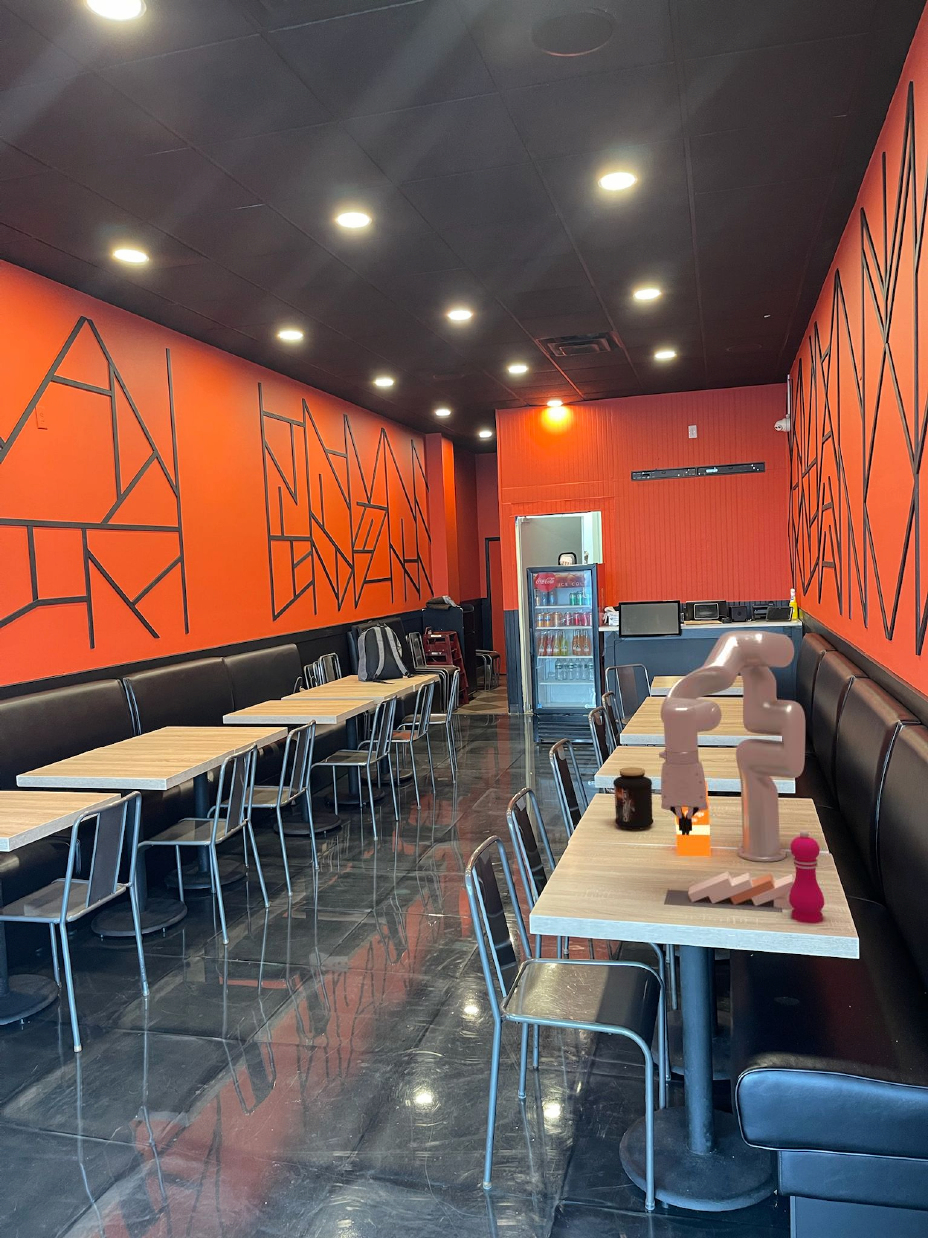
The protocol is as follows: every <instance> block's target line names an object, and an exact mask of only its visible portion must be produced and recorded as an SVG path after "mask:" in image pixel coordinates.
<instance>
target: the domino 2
mask: <svg viewBox="0 0 928 1238" xmlns="http://www.w3.org/2000/svg"><path fill="white" fill-rule="evenodd" d="M753 880H754V879H753V878H752V876H751V875H750V872H746V873H743V874H741V875H739V876H736V877H734V878H732V886H731V887H729V888H726V889H724V890H721V891H719V892H716V893H714V894H712V895H709V898H710V900H711V902H712V904H713V903H715V902H718V901H720V900H723V899H725V898H728V897H731V896H733V895H736V894H738V893H741V892H743V891H746V890H748V889H751V888H753Z"/></svg>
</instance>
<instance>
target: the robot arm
mask: <svg viewBox="0 0 928 1238" xmlns="http://www.w3.org/2000/svg"><path fill="white" fill-rule="evenodd" d="M794 655H795V646H794V643H793V640H792V639H791V638H790V637H788V636H787V635H785V634H781V633H775V632H770V631H764V630H731V631H727V632H723V634H721V635H720V637H719V638H718V639H717V642H716V643H715V645H714V646H713V648H712V649H711V651H710V653H709V655H708V657H707V658H706V659H705V662H704V664H703V665H702V666H701V667H699V668H697V669H695V670H693V671H692V672H690V673H688V674H686V675H685V676H682V678H680V679H679V680H677V681H676V682H675V683H674V684H673V685H672V686H671V688H670V689H669V691H668V693H667V694H666V696H665V698H664V700H663V702H662V704H661V708H660V719H661V721H662V723H663V732H664V733H663V734H664V751H659V752H658V755H659V756H658V757H659V758H660V759H661V758H662V759H664V760H665V761H663V762H662V765H661V771H660V772H661V777H660V798H661V805H660V807H661V809H663V810H666V811H671V813H673V814H674V816H675V817H676V816H677V818H678V821H679V831H682V835H685V833H686V835H687V836H689V833H690V831H692V817H693V816H694V815H695V814H696V813H697V812H698V811H703V810H707V809H708V804H707V801H706V784H705V781H706V777H705V772H704V767H703V764H702V761H701V760H700V759H699V743H698V741H699V740H698V733H700V732H702V733H703V732H710V731H712V730H714V729H716V728H717V727H718V726H719V724H720V723H721V721H722V710H721V707H720V706H719V704H718V703H716V702H715V701H712V700H709V699H700V698H702V697H706V696H709V695H712V694H717V693H721V692H722V691H726V690H727V689H730V688H731V687H732V686H733V685H734V683H735V681H736V679H737V677H738V675H739V673H740V677H741V679H742V685H743V687H742V688H743V693H742V694H743V695H742V697H743V698H742V725H743V727H744V729H745V730H746V731H747V732H749V733H753V734H759V735H766V736H767V735H769V736H780V737H781V738H782V740H773V739H766V738H764V739H763V738H747V739H744V740H741V742H739V743H738V745H737V747H736V751H735V758H736V759H735V760H736V764H737V768H738V774H739V780H740V793H741V794H740V795H741V796H740V797H741V798H740V799H741V800H740V801H741V803H740V805H741V827H742V829H741V830H742V831H741V832H742V833H741V834H742V845H740V846H739V847H737V850H736V851H737V855H738V857H741V858H742V859H745V860H749V861H753V862H765V863H767V862H778V861H781V860H785V858H786V857H787V851H786V850H785V849H784V848H782V847H781V842H780V841H781V838H780V837H781V836H780V835H781V834H780V811H779V792H778V790H779V789H778V787H777V785H776V783H775V781H774V780H773V779H772V777H777V778H783V779H784V778H786V779H796V778H799V776H801V775H802V773H803V771H804V767H805V762H806V761H805V758H806V757H805V756H806V753H805V752H806V751H805V750H806V716H805V711H804V709H803V707H802V705H801V704H800V703H799V702H798V701H797V702H796V701H794V700H791V699H790V700H787V699H786V700H785V699H778V698H777V680H776V677H775V675H774V674H773V672H772V671H771V669H770V668H786V667H787V666H789V665H790V664H791V663H792V662H793V659H794ZM682 807H688V812H687V814H686V817H685V816H684V813H683V811H682Z"/></svg>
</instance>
